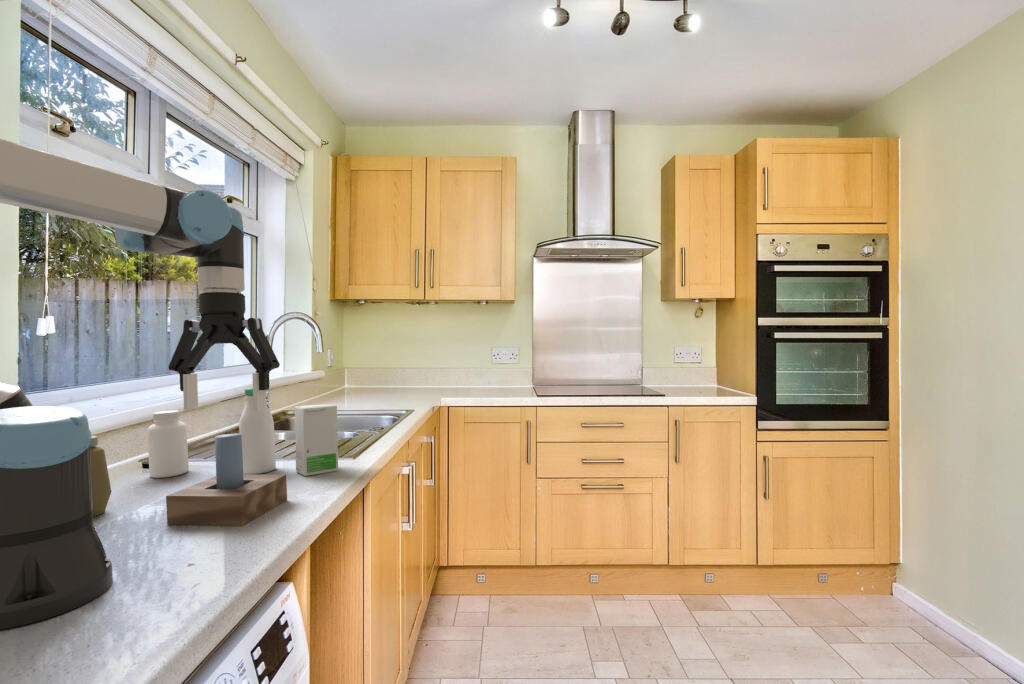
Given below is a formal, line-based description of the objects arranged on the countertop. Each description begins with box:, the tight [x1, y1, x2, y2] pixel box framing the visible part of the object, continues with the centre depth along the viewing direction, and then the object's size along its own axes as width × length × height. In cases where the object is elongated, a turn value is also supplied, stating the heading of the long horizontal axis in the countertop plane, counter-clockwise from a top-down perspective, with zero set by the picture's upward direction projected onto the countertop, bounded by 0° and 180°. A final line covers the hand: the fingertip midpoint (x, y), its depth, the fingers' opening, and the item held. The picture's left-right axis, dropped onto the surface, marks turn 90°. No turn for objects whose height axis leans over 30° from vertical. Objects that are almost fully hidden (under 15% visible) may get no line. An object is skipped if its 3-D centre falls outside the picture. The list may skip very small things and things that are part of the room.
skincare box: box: [294, 403, 339, 477], centre depth 128 cm, size 8×7×16 cm
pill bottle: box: [146, 409, 189, 479], centre depth 129 cm, size 8×8×15 cm
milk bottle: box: [238, 387, 277, 475], centre depth 129 cm, size 8×8×20 cm
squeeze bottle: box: [90, 435, 112, 517], centre depth 100 cm, size 8×8×18 cm
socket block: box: [165, 474, 288, 527], centre depth 99 cm, size 14×14×5 cm
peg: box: [214, 433, 244, 489], centre depth 99 cm, size 4×4×14 cm
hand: (225, 409), depth 99 cm, fingers open, 13 cm apart
